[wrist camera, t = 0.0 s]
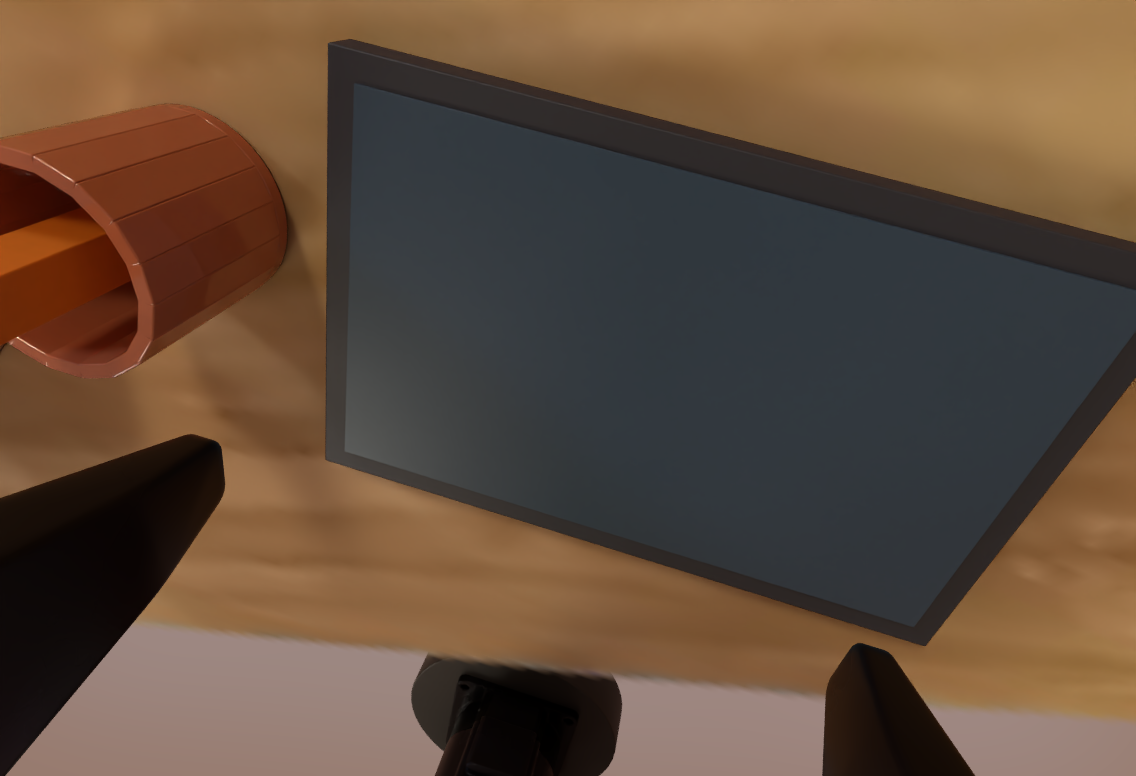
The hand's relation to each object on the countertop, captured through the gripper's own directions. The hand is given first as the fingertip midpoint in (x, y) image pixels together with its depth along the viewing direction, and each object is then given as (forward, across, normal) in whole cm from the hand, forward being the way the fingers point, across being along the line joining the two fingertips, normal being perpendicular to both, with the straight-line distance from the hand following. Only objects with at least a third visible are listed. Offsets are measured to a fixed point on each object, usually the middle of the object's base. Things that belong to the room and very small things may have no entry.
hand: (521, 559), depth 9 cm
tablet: (+12, -2, +3) cm, 13 cm away
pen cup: (+12, +14, +2) cm, 19 cm away
